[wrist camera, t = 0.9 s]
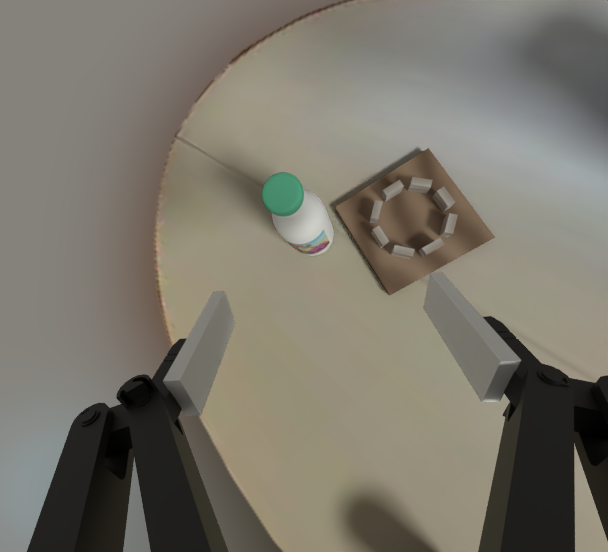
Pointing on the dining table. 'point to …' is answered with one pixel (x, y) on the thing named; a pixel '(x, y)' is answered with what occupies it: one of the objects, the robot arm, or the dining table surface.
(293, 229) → the milk bottle
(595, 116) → the dining table surface
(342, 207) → the ring seat
